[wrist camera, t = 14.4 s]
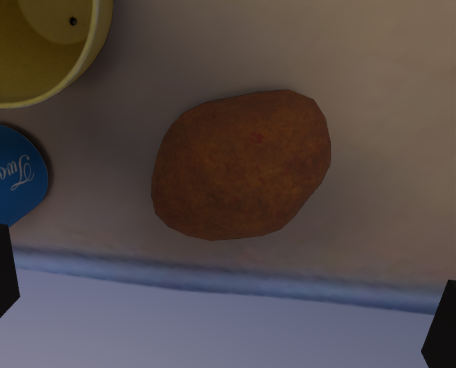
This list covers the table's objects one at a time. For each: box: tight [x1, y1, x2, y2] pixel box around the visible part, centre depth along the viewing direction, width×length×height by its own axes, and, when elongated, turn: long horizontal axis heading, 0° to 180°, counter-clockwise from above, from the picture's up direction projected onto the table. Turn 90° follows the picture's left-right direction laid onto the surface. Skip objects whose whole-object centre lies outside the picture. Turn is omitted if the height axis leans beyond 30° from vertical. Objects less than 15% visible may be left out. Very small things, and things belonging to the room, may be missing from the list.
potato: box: [151, 90, 331, 241], centre depth 20 cm, size 8×11×8 cm
